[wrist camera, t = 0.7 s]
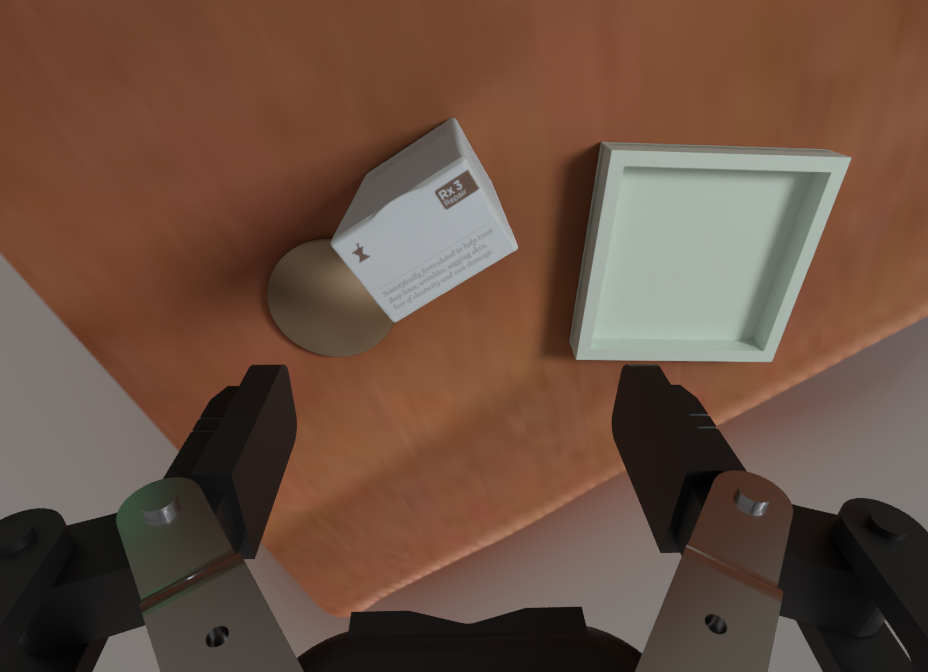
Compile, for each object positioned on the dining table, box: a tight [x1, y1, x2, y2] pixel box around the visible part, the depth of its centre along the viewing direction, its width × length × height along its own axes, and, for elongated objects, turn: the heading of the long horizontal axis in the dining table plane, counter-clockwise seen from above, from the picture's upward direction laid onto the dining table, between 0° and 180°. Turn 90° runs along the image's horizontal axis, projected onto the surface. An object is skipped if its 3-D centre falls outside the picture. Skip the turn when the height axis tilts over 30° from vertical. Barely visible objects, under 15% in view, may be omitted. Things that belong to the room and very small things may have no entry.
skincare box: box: [330, 118, 518, 322], centre depth 25 cm, size 6×4×12 cm
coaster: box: [267, 239, 394, 357], centre depth 34 cm, size 8×8×1 cm
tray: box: [569, 142, 851, 362], centre depth 32 cm, size 13×13×2 cm
